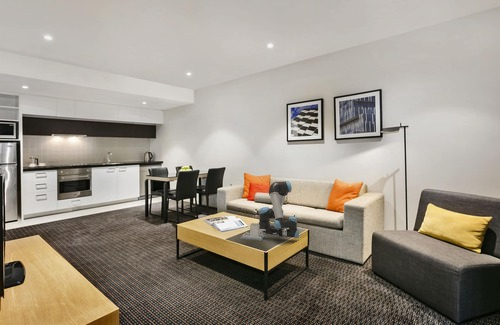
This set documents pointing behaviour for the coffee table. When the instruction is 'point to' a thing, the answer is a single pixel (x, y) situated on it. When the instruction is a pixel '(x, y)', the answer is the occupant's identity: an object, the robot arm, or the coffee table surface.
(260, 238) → the mounting board
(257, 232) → the module
